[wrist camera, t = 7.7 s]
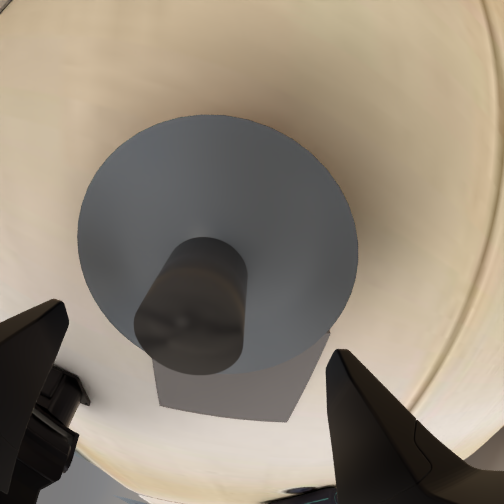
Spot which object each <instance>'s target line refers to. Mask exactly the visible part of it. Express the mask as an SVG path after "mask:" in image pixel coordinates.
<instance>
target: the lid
mask: <svg viewBox="0 0 504 504" xmlns="http://www.w3.org/2000/svg"><path fill="white" fill-rule="evenodd" d="M77 239H78V253H79V259H80V264H81V268H82V271H83V275H84V278H85V281H86V283H87V286H88V288H89V290H90V292H91V294H92V296H93V298H94V300H95V301H96V303H97V305H98V306H99V308H100V309H101V311H102V312H103V313H104V315H105V316H106V317H107V319H108V320H109V321H110V322H111V323H112V324H113V325H114V327H115V328H116V329H117V330H118V331H119V332H120V333H121V334H123V335H124V336H125V337H126V338H127V339H128V340H130V341H131V342H132V343H133V344H135V345H136V346H138V347H139V348H141V349H142V350H144V351H145V352H146V353H147V354H148V355H149V356H150V357H151V358H152V359H154V360H155V361H156V362H158V363H159V364H161V365H163V366H165V367H167V368H169V369H171V370H174V371H177V372H180V373H184V374H189V375H211V374H239V373H248V372H254V371H259V370H263V369H266V368H270V367H273V366H276V365H278V364H281V363H283V362H286V361H288V360H290V359H292V358H294V357H296V356H297V355H299V354H301V353H303V352H304V351H305V350H307V349H308V348H310V347H311V346H312V345H314V344H315V343H316V342H317V341H318V340H319V339H320V338H322V337H323V336H324V335H325V334H326V333H327V331H328V330H329V329H330V328H331V327H332V326H333V324H334V323H335V322H336V320H337V319H338V317H339V316H340V314H341V313H342V311H343V310H344V308H345V306H346V303H347V301H348V299H349V297H350V295H351V292H352V289H353V285H354V282H355V278H356V272H357V265H358V240H357V234H356V228H355V223H354V220H353V217H352V214H351V211H350V208H349V205H348V203H347V201H346V199H345V197H344V195H343V193H342V191H341V189H340V187H339V186H338V184H337V183H336V181H335V180H334V179H333V177H332V176H331V174H330V173H329V172H328V170H327V169H326V168H325V167H324V166H323V165H322V164H321V163H320V162H319V161H318V160H317V159H316V158H315V157H314V156H313V155H312V154H311V153H310V152H309V151H308V150H306V149H305V148H304V147H302V146H301V145H300V144H298V143H297V142H296V141H294V140H293V139H291V138H289V137H288V136H286V135H284V134H282V133H280V132H278V131H276V130H274V129H273V128H270V127H268V126H265V125H262V124H259V123H256V122H253V121H250V120H247V119H242V118H237V117H231V116H225V115H195V116H187V117H180V118H176V119H172V120H169V121H165V122H162V123H159V124H156V125H154V126H152V127H150V128H148V129H145V130H143V131H141V132H139V133H138V134H136V135H135V136H133V137H132V138H130V139H129V140H127V141H126V142H124V143H123V144H122V145H121V146H119V147H118V148H117V149H116V150H115V151H114V152H113V153H112V154H111V155H110V156H109V157H108V158H107V159H106V161H105V162H104V163H103V164H102V166H101V167H100V168H99V170H98V171H97V172H96V174H95V176H94V178H93V179H92V181H91V183H90V185H89V187H88V189H87V192H86V194H85V197H84V200H83V203H82V206H81V211H80V215H79V220H78V235H77Z"/></svg>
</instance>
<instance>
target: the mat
mask: <svg viewBox="0 0 504 504" xmlns="http://www.w3.org/2000/svg"><path fill="white" fill-rule="evenodd" d="M329 336H330V331H329V330H328V331H327V333H326V334H325V335H324V336H323V337H322V338H320V339H319V340H318V341H317V342H316V343H315V344H314V345H312V346H311V347H310V348H308V349H307V350H305V351H304V352H303V353H301V354H299V355H297V356H296V357H294V358H292V359H290V360H288V361H286V362H283V363H281V364H278V365H276V366H273V367H270V368H266V369H263V370H259V371H254V372H248V373H239V374H211V375H189V374H184V373H180V372H177V371H174V370H171V369H169V368H167V367H165V366H163V365H161V364H159V363H158V362H156V361H155V360H154V359H152V361H153V368H154V374H155V381H156V387H157V393H158V398H159V404H160V406H163V407H167V408H172V409H177V410H182V411H187V412H192V413H198V414H204V415H211V416H218V417H225V418H233V419H243V420H254V421H268V422H287V421H288V419H289V418H290V416H291V414H292V412H293V410H294V408H295V406H296V405H297V403H298V401H299V399H300V397H301V395H302V393H303V391H304V389H305V387H306V385H307V383H308V381H309V379H310V377H311V375H312V373H313V371H314V369H315V367H316V364H317V362H318V360H319V358H320V356H321V354H322V351H323V349H324V347H325V345H326V342H327V340H328V338H329Z"/></svg>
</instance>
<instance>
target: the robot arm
mask: <svg viewBox="0 0 504 504" xmlns="http://www.w3.org/2000/svg"><path fill="white" fill-rule="evenodd" d="M68 325H69V319H68V315H67V312H66V308H65V304H64V303H63V302H62V301H60V300H57V299H51V300H49V301H47V302H45V303H42V304H40V305H38V306H36V307H33V308H31V309H29V310H27V311H24V312H22V313H20V314H18V315H16V316H13V317H11V318H9V319H7V320H5V321H3V322H1V323H0V504H36V502H37V498H38V495H39V492H40V490H41V489H43V488H45V487H47V486H49V485H51V484H52V483H54V482H56V481H58V480H59V479H60V478H61V475H62V473H65V472H66V471H67V470H68V468H69V466H70V464H71V461H72V459H73V455H74V452H75V448H76V445H77V441H78V438H79V434H78V433H76V432H74V431H72V430H71V429H69V428H68V427H69V425H70V423H71V421H72V418H73V416H74V414H75V412H76V410H77V408H78V406H79V404H80V403H82V404H84V405H87V406H90V401H89V399H88V397H87V395H86V393H85V391H84V389H83V387H82V385H81V383H80V380H79V379H78V377H77V376H75V375H73V374H70V373H68V372H65V371H63V370H60V369H58V368H56V367H53V363H54V361H55V359H56V356H57V354H58V351H59V348H60V346H61V343H62V341H63V338H64V336H65V333H66V331H67V328H68ZM326 393H327V415H328V423H329V430H330V437H331V445H332V452H333V461H334V469H335V478H336V488H337V498H338V504H504V471H491V470H481V469H477V468H474V467H472V466H470V465H468V464H467V463H466V462H465V461H463V460H462V459H461V458H460V457H458V456H457V455H456V454H455V453H453V452H452V451H451V450H450V449H448V448H447V447H446V446H445V445H444V444H442V443H441V442H440V441H439V440H438V439H437V438H436V437H434V436H433V435H432V434H431V433H430V432H429V431H428V430H427V429H426V428H425V427H424V426H423V425H422V424H421V423H420V422H419V421H418V420H416V418H415V417H414V416H413V415H412V414H411V413H410V412H409V411H408V410H407V409H406V408H405V407H404V406H403V405H402V404H401V403H400V402H399V401H398V400H397V399H396V398H395V397H394V396H393V395H392V394H391V393H390V391H389V390H388V389H387V388H386V387H385V386H384V385H383V384H382V383H381V382H380V381H379V380H378V379H377V378H376V377H375V376H374V375H373V374H372V373H371V372H370V371H369V370H368V369H367V368H366V367H365V366H364V365H363V364H362V363H361V362H360V361H359V360H358V359H357V358H356V357H355V356H354V355H353V354H352V353H351V352H350V351H349V350H347V349H336V350H335V351H334V352H333V354H332V356H331V358H330V360H329V362H328V364H327V367H326Z"/></svg>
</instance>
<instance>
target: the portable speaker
mask: <svg viewBox="0 0 504 504" xmlns="http://www.w3.org/2000/svg"><path fill="white" fill-rule="evenodd" d="M268 504H338V498H337V488H324V489H321V490H318V491H314V492H311V493H308V494H304V495H300V496H297V497H293V498H289V499H284V500H280V501H275V502H271V503H268Z"/></svg>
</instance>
